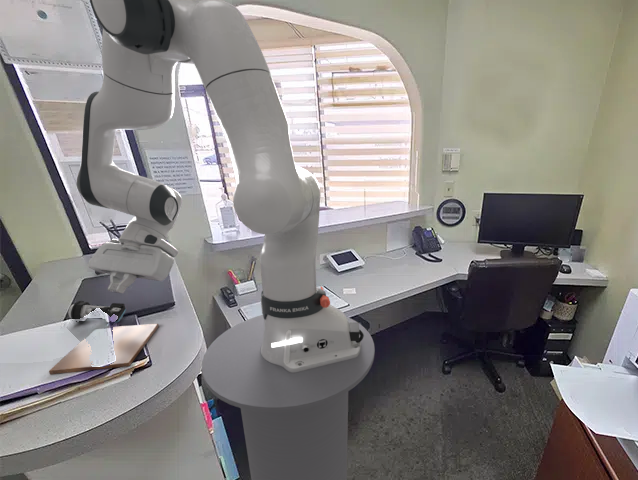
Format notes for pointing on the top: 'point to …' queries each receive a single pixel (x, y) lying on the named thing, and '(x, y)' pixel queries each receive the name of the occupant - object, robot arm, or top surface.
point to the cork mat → (125, 348)
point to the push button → (85, 308)
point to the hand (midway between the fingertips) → (115, 291)
